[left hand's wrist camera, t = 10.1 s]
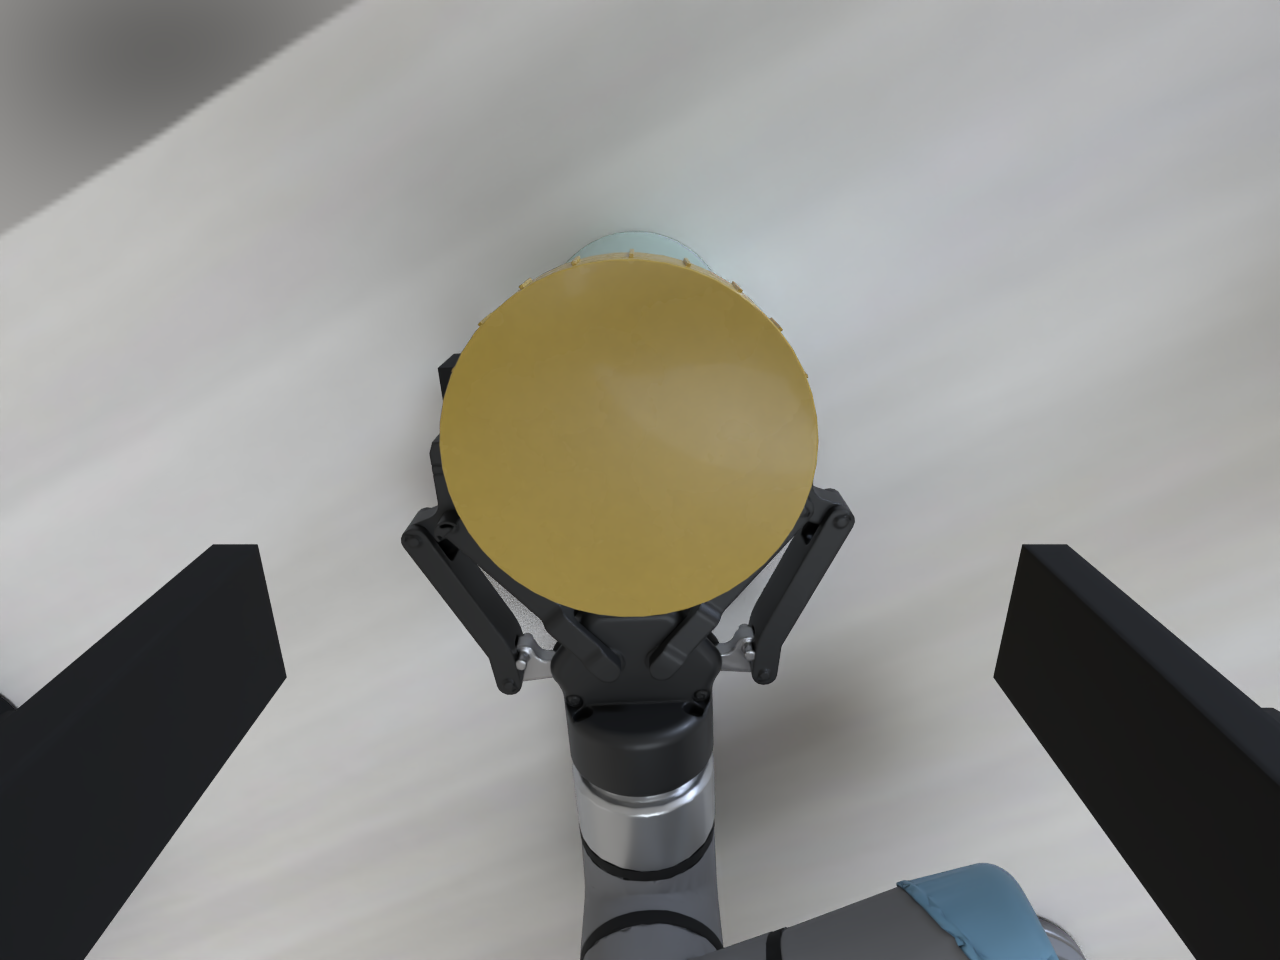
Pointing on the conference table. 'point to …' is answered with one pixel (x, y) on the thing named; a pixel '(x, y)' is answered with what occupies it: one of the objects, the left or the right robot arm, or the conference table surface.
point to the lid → (628, 435)
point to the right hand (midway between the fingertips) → (615, 350)
